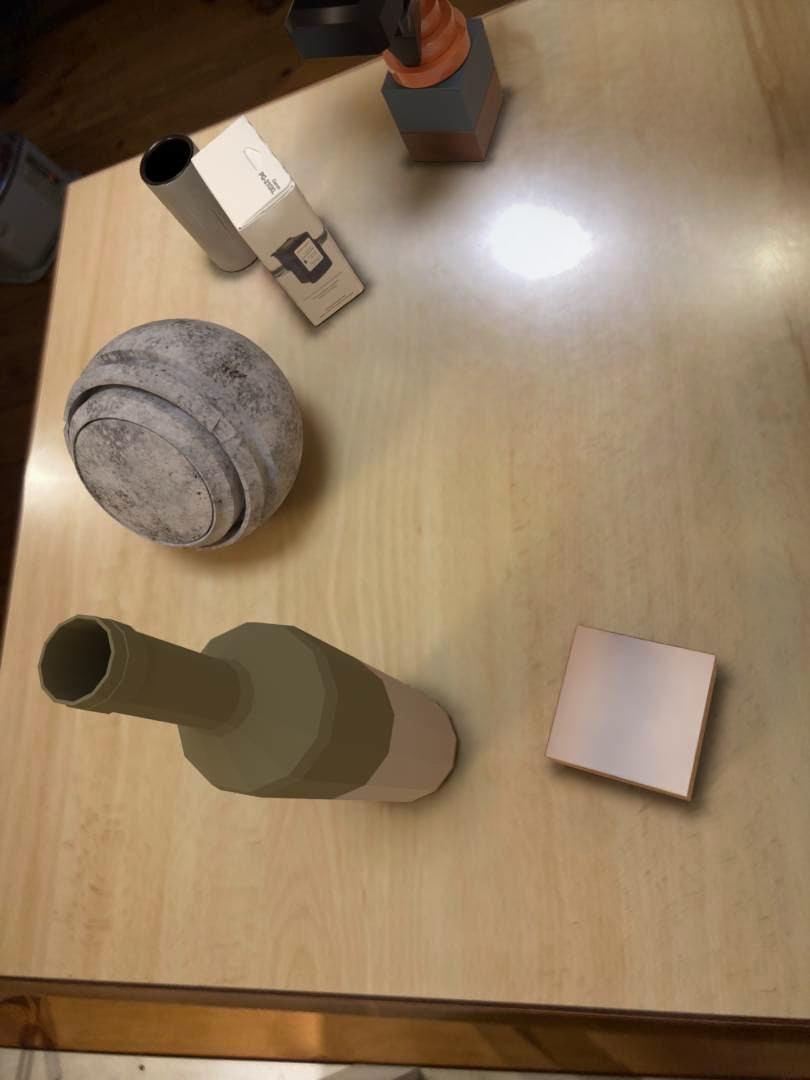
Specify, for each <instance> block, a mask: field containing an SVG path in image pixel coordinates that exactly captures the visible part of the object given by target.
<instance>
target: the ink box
mask: <svg viewBox="0 0 810 1080" xmlns="http://www.w3.org/2000/svg"><path fill="white" fill-rule="evenodd" d="M199 150H200V151H199V152H198V153H197V154H196V155H194V156H193V157H192V159H191V161H192V163H193V165H194V166H195V168H196V170H197V171H198V173H199V174H200V176H201V177H202V179H203V181H204V182H205V184H206V185H207V187H208V188H209V189H210V191H211V192H212V194H213V195H214V197H215V198H216V200H217V201H218V203H219V204H220V206H221V207H222V209H223V210H224V212H225V213H226V215H227V216H228V217H229V219H230V220H231V222H232V223H233V225H234V226H235V228H236V229H237V231H238V232H239V233H240V235H241V236H242V237H243V238H244V240H245V241H246V242H247V244H248V245H249V246H250V247H251V249H252V250H253V251H254V252H255V254H256V255H257V258H258V259H259V260H260V262H261V263H262V264H263V265H264V266H265V267H266V268H267V270H268V272H270V274H271V275H272V276H273V277H274V278H275V279H276V281H277V282H278V283H279V285H280V286H281V288H282V289H283V290H284V291H285V292H286V293H287V294H288V296H289V297H290V298H291V299H292V301H293V303H295V304H296V306H297V307H298V308H299V309H300V310H301V311H302V313H303V314H304V315H305V316H306V317H307V318H308V320H309V321H310V322H311V323H312V324H313V326H314V327H317V326H319V325H320V324H321V323H323V322H324V321H325V320H327V319H328V318H329V317H330V316H332V315H333V314H334V313H336V312H337V311H338V310H339V309H341V308H342V307H344V306H345V305H346V304H347V303H349V302H350V301H351V300H353V299H354V298H355V297H357V296H358V295H359V294H361V293H362V292H363V290H364V285H363V284H362V282H361V281H360V279H359V278H358V276H357V275H356V273H355V271H354V270H353V269H352V266H351V265H350V263H349V262H348V260H347V259H346V258H345V255H344V254H343V253H342V251H341V250H340V248H339V247H338V245H337V243H336V242H335V240H334V238H333V237H332V236H331V234H330V233H329V231H328V229H327V228H326V226H325V225H324V223H323V222H322V220H321V219H320V217H319V216H318V214H317V213H316V211H315V210H314V209H313V207H312V205H311V204H310V202H309V201H308V199H307V198H306V196H305V195H304V193H303V192H302V190H301V189H300V187H299V186H298V185H297V183H296V181H295V180H294V178H293V176H291V174H290V173H289V172H288V170H287V169H286V168H285V166H284V164H283V163H282V162H281V161H280V159H279V158H278V156H276V154H275V153H274V152H273V151H272V149H271V148H270V146H269V145H268V144H267V143H266V141H265V140H264V139H263V137H262V136H261V135H260V133H259V132H258V130H256V128H255V127H254V126H253V125H252V123H251V122H250V120H249V119H248V118H247V117H246V115H245V114H242V115H240V117H238V118H237V119H236V120H235V121H234V122H233V123H231V124H230V125H229V126H228V127H227V128H225V129H224V130H223V131H222V132H221V133H220V134H218V135H217V136H216V137H215V138H213V139H212V140H211V141H210V142H209V143H207V144H206V145H205V146H204V147H202V148H201V149H199Z"/></svg>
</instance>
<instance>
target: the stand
mask: <svg viewBox="0 0 810 1080" xmlns="http://www.w3.org/2000/svg"><path fill="white" fill-rule="evenodd" d="M716 678H717V655H716V654H715V653H710V652H705V651H699V650H695V649H691V648H686V647H681V646H678V645H673V644H670V643H669V644H668V643H664V642H659V641H654V640H651V639H646V638H641V637H637V636H633V635H627V634H623V633H620V632H619V633H618V632H614V631H610V630H604V629H601V628H596V627H591V626H586V625H584V624H583V625H582V624H576V625H575V629H574V632H573V637H572V640H571V644H570V649H569V653H568V658H567V662H566V666H565V669H564V673H563V679H562V681H561V686H560V690H559V695H558V699H557V703H556V706H555V710H554V715H553V717H552V718H553V719H552V723H551V727H550V731H549V735H548V740H547V743H546V748H545V752H544V758H547V759H549V760H551V761H553V762H556V763H557V764H561V765H563V766H567V767H570V768H573V769H576V770H581V771H584V772H587V773H590V774H594V775H596V776H597V775H598V776H600V777H604V778H608V779H611V780H615V781H618V782H622V783H625V784H628V785H631V786H635V787H639V788H643V789H646V790H649V791H653V792H657V793H660V794H663V795H667V796H671V797H672V798H673V797H674V798H677V799H680V800H684V801H688V802H691V800H692V796H693V791H694V786H695V782H696V776H697V771H698V767H699V761H700V757H701V752H702V748H703V747H702V746H703V743H704V737H705V732H706V727H707V724H708V723H707V722H708V718H709V712H710V708H711V704H712V703H711V702H712V697H713V692H714V688H715V683H716Z"/></svg>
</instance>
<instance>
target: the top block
mask: <svg viewBox="0 0 810 1080" xmlns="http://www.w3.org/2000/svg"><path fill="white" fill-rule="evenodd" d="M465 20H466V23H467V27H468V30H469V33H470V37H471V44H470V49H469V52H468V55H467V57H466V59H465V60H464V62H463V63H462V65H461V66H460V67H459V68H458V69H457V70H456V71H455V72H454V73H453V74H452V75H450V76H449V77H448V78H446V79H444V80H443V81H441V82H439V83H437V84H434V85H431V86H428V87H423V88H409V87H405V86H402V85H400V84H399V83H397V82H396V81H395V80H394V79H393V78H392V76H391V74H390V72H389V70H388V69H387V71H386V73H385V74H386V75H385V77H384V80H383V83H382V86H381V89H380V92H381V95H382V97H383V99H384V102H385V104H386V106H387V108H388V110H389V113H390V115H391V117H392V119H393V122H394V124H395V126H396V129H397V131H398V132H399V133H400V132H462V131H474V129H475V126H476V123H477V120H478V116H479V113H480V110H481V107H482V104H483V101H484V97H485V94H486V91H487V88H488V85H489V82H490V78H491V75H492V72H493V69H494V66H496V62H495V59H494V56H493V52H492V49H491V46H490V42H489V39H488V35H487V32H486V28H485V24H484V21H483V18H482V17H474V18H473V17H471V18H465Z"/></svg>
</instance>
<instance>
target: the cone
mask: <svg viewBox="0 0 810 1080" xmlns="http://www.w3.org/2000/svg"><path fill="white" fill-rule="evenodd" d="M420 8H421V64H420V66H419V67H412V68H407V67H405V66H404V65H403V64H402V63H401V62H400V61H399V60H398V59H396V58H395V57H394V56H393V55H392V54H391V53H390V52H389V51H388V50H387V49H386V50H385V51H383V52H382V56H383V60H384V63H385V65H386V67H387V71H388V70H389V72H390V74H391V76H392V78H393V79H394V80H395V81H396V82H397V83H399V84H400V85H402V86H405V87H409V88H423V87H428V86H431V85H434V84H437V83H439V82H441V81H443V80H444V79H446V78H448V77H449V76H450V75H452V74H453V73H454V72H455V71H456V70H457V69H458V68H459V67H460V66H461V65H462V63H463V62H464V60H465V59H466V57H467V55H468V52H469V49H470V44H471V37H470V33H469V30H468V27H467V23H466V20H465V19H466V18H465V15H464V14H463V12H462V11H460V10H459V9H458V8H456V7H455V6H453V5H452V4H451V3H450V2H449V0H420Z"/></svg>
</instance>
